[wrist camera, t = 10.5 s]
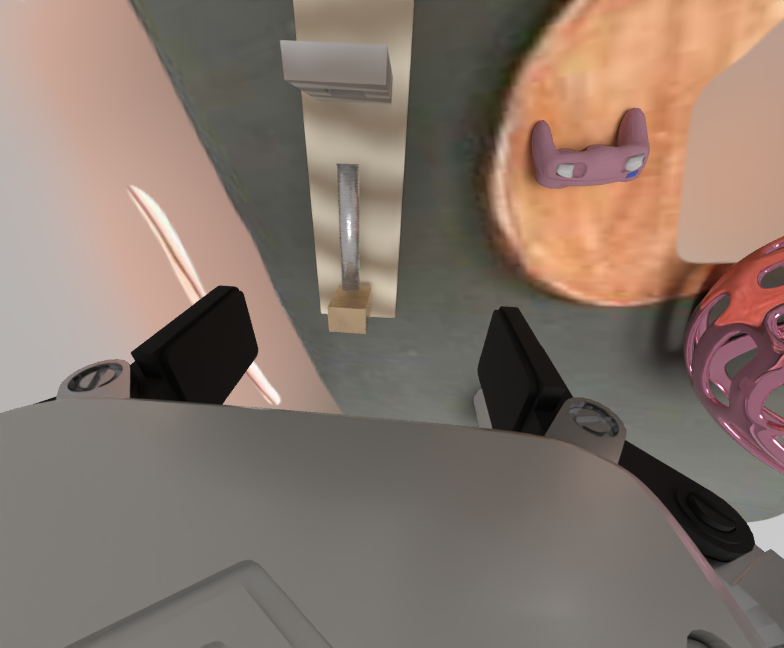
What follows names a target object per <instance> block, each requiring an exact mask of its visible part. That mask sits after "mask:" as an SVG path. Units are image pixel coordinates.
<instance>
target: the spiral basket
mask: <svg viewBox="0 0 784 648" xmlns="http://www.w3.org/2000/svg"><path fill="white" fill-rule="evenodd" d="M783 265H784V236H783V237H781V238H779V239H777V240H775V241H773V242H771V243H769V244H767V245H765V246H763V247H761V248H759V249H758V250H756V251H754V252H753V253H751V254H749V255H748V256H746V257H745V258H743V259H742V260H740V261H739V262H738V263H736V264H735V265H734V266H733V267H731V268H730V269H729V270H728V271H727V272H726V273H725V274H724V275H723V276H721V277H720V278H719V280H718V281H717V282H716V283H715V284H714V285H713V286H712V287H711V289H710V290H709V291H708V293H707V294H706V296H705V297H704V298H703V300H702V301H701V302H700V303H699V305H698V306H697V307H696V309H695V310H694V312H693V314H692V316H691V318H690V320H689V322H688V324H687V327H686V331H685V335H684V341H683V356H684V362H685V367H686V371H687V374H688V377H689V381H690V384H691V386H692V389H693V391H694V393H695V395H696V397H697V398H698V400H699V401H700V403H701V404H702V405H703V407H704V408H705V409H706V411H707V412H708V413H709V415H710V416H711V417H712V418H713V420H714V421H715V422H716V423H717V424H718V425H719V426H720V427H721V429H722V430H723V431H724V432H725V433H727V434H728V435H729V436H730V437H731V438H732V439H733V440H734V441H735V442H736V443H738V444H739V445H740V446H741V447H743V448H744V449H745V450H746V451H748V452H749V453H750V454H752V455H753V456H755V457H756V458H757V459H759V460H760V461H762V462H763V463H765V464H766V465H768V466H770V467H771V468H773V469H774V470H776V471H778V472H779V473H781V474H783V475H784V446H783V445H782V444H781V443H780V442H779V441H778V440H777V439H776V437H775V436H783V437H784V418H783V417H781V416H779V415H777V414H776V413H774V412H772V411H771V410H769V409H767V408H766V407H764V406H763V405H764V402H765V400H766V398H767V397H768V395H769V394H770V393H771V392H772V391H773V390H774V389H776V388H777V387H779V386H780V385H783V384H784V323H783V324H779V325H777V320H778V318H779V317H780V316H781V315H782V314H784V285H782V286H778V287H774V288H763V287H762V286H761V280H762V278H763V277H764V276H765V275H766V274H767V273H769V272H770V271H772V270H774V269H776V268H778V267H780V266H783ZM728 294H729V296H730V303H729V306H728V308H727V309H726V310H725V311H724V312H723V314H722V315H720V316H719V317H718V318H717V319H716V320H715V321H714V322H713V323H712V324H711V325H710V326H709V320H710V315H711V312H712V309H713V306H714V305H715V304H716V303H717V302H718V301H719V300H720V299H721V298H723V297H724V296H726V295H728ZM740 332H744V333H746V334H745V335H742V336H739V337H737V338H734V339H732V340H729V341H727V340H728V339H729V338H731V337H732V336H733V335H735V334H737V333H740ZM726 341H727V342H726ZM694 342H695V349H694ZM756 347H757V349H758V354H757V356H756V357H755V358H754V359H753V360H752V361H750V362H749V363H747V364H746V365H745V366H744V367H743V368H741V369H740V371H739V372H738V373H737V374H736V376H735V377H734V379H733V380H732V379H731V378H730V377H729V375H728V374H727V372H726V369H725V366H726V364H727V363H728V362H729V361H730V360H732V359H733V358H735V357H737V356H739V355H741V354H743V353H745V352H747V351H750V350H752V349H754V348H756ZM709 380H710V381H712V382H713V383H714V384H715V385H716V386H717V387H718V388H719V389H720V391H721V392H722V393H723V394H724V395H725V396H726V397H727V398H728V399H729V407H728V406H726V405H724V404H722V403H721V402H720V401H718V400H717V399H716V398H715V396H714V395H713V393H712V392H711V389H710V386H709Z"/></svg>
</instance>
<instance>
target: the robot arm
mask: <svg viewBox="0 0 784 648" xmlns="http://www.w3.org/2000/svg"><path fill="white" fill-rule="evenodd" d="M131 354H132V356H133V358H134V360H135V362H134V363H132V364H131V365H130V364H129V363H128V362H126V361H125V360H118V359H115V360H105V361H101V362H97V363H94V364H91V365H88V366H86V367H84V368H82V369H79V370H77V371H76V372H74V373H73V374H71V375H70V376H68V377H67V378H66V379H65V380H64V381H63V382H62V384H61V385H60V387H59V390H58V394H57V396H56V397H54V398H51V399H48V400H45V401H42V402H39V403H36V404H33V405H28V406H24V407H21V408H16V409H13V410H10V411H6V412H3V413H0V648H784V559H783V558H782V557H780V556H779V555H778V554H776V553H775V552H774V551H773V550H771V549H770V550H768V551H766V552H764V551H763V550H761V549H760V548H759V547H758V546H757V545H755V541H754V537H753V534H752V532H751V530H750V528H749V526H748V525H747V523H746V522H745V520H744V519H743V518H742V517H741V516H740V515H739V513H738V512H737V511H736V510H735V509H734V508H732V507H731V506H730V505H729V504H728V503H727V502H726V501H724V500H723V499H722V498H720V497H719V496H717V495H716V494H714V493H713V492H711V491H710V490H708V489H706V488H705V487H703V486H701V485H700V484H698V483H696V482H695V481H693V480H691V479H690V478H688V477H686V476H685V475H683V474H681V473H679V472H678V471H676V470H674V469H673V468H671V467H669V466H668V465H666V464H664V463H663V462H661V461H659V460H658V459H656V458H654V457H653V456H651V455H649V454H648V453H646V452H644V451H643V450H641V449H639V448H638V447H636V446H634V445H633V444H631V443H629V442H628V441H626V440H625V438H626V428H625V426H624V424H623V422H622V421H621V420H620V418H619V417H618V416H617V415H616V414H615V413H614V412H612V411H611V410H610V409H609V408H607V407H605V406H604V405H602V404H600V403H598V402H595V401H593V400H590V399H586V398H578V397H574V398H573V396H572V395H571V393H570V391H569V390H568V388H567V386H566V385H565V383H564V381H563V380H562V378H561V377H560V375H559V373H558V372H557V370H556V368H555V367H554V365H553V363H552V362H551V360H550V358H549V357H548V355H547V354H546V352H545V350H544V349H543V347H542V346H541V345H540V343H539V342H538V340H537V338H536V337H535V335H534V333H533V332H532V330H531V328H530V327H529V325H528V323H527V322H526V320H525V318H524V317H523V315H522V313H521V312H520V310H519V309H518V308H516V307H503V306H501V307H500V308H499V310H494V312H493V315H492V319H491V322H490V326H489V329H488V333H487V336H486V340H485V343H484V347H483V350H482V354H481V357H480V361H479V364H478V377H479V380H480V384H481V388H482V392H483V395H484V399H485V403H486V407H487V410H488V414H489V418H490V422H491V425H492V429H489V428H481V427H469V426H459V425H450V424H439V423H428V422H417V421H407V420H396V419H385V418H374V417H363V416H351V415H340V414H328V413H317V412H304V411H293V410H281V409H270V408H257V407H244V406H232V405H222V404H223V403H224V401H225V400H226V398H227V397H228V396H229V394H230V393H231V391H232V390H233V389H234V387H235V386H236V385H237V383H238V382H239V380H240V379H241V378H242V376H243V375H244V373H245V372H246V371H247V369H248V368H249V366H250V365H251V364H252V362H253V361H254V359H255V358H256V356H257V354H258V346H257V342H256V338H255V334H254V331H253V327H252V323H251V320H250V316H249V312H248V308H247V305H246V301H245V297H244V294H243V292H242V291H239V289H238V288H237V287H233V286H218V287H216V288H215V289H213V290H212V291H211V292H209V293H208V294H207V295H206V296H204V297H203V298H202V299H200V300H199V301H198V302H196V303H195V304H194V305H192V306H191V307H190V308H189V309H187V310H186V311H185V312H183V313H182V314H181V315H179V316H178V317H177V318H175V319H174V320H173V321H171V322H170V323H169V324H168V325H166V326H165V327H164V328H162V329H161V330H160V331H158V332H157V333H156V334H154V335H153V336H152V337H150V338H149V339H148V340H146V341H145V342H144V343H143V344H141V345H140V346H139V347H137V348H136V349H135V350H133V351H132V352H131Z"/></svg>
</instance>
